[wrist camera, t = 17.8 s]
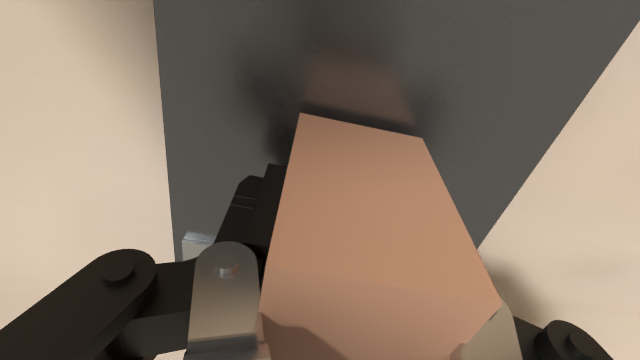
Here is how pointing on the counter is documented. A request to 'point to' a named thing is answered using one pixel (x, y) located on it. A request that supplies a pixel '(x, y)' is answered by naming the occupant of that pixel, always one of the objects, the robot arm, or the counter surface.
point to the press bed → (373, 89)
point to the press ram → (369, 252)
